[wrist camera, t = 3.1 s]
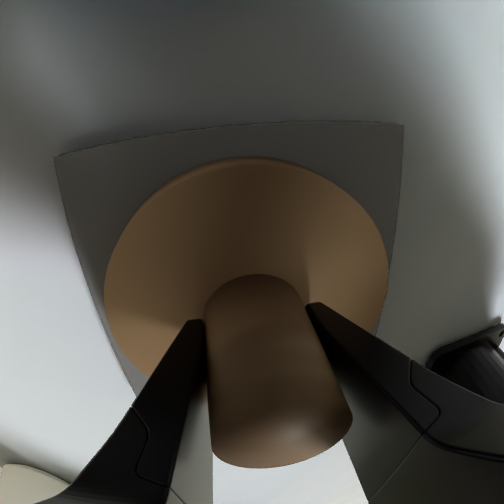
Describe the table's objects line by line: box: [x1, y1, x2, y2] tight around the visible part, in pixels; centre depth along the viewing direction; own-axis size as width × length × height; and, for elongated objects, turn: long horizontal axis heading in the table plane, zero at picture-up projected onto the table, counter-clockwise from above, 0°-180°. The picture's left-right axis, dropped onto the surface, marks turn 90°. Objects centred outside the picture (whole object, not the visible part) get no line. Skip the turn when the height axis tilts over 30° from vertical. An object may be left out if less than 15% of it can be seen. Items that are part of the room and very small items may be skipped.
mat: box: [54, 121, 404, 397], centre depth 10 cm, size 10×10×1 cm
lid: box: [104, 156, 388, 468], centre depth 8 cm, size 8×8×5 cm
